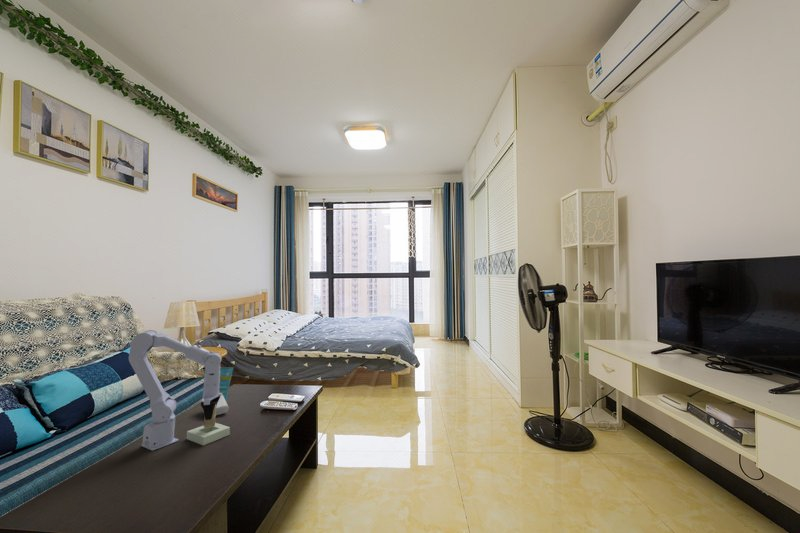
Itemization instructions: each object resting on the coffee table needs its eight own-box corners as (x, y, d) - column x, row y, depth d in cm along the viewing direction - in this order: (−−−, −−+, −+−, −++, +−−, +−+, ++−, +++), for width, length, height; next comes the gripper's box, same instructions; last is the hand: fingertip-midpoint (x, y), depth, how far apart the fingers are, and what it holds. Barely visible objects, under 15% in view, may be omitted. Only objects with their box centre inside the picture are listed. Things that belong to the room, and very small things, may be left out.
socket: (203, 445, 126) (203, 437, 126) (186, 439, 131) (187, 431, 131) (229, 434, 136) (230, 427, 136) (212, 429, 141) (213, 421, 141)
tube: (212, 407, 164) (218, 368, 167) (211, 405, 168) (217, 366, 171) (228, 406, 168) (234, 367, 171) (227, 404, 172) (232, 366, 175)
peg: (207, 428, 131) (208, 405, 132) (201, 426, 133) (202, 403, 134) (217, 425, 135) (218, 402, 135) (211, 423, 137) (212, 400, 137)
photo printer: (228, 412, 159) (221, 398, 168) (229, 404, 158) (222, 391, 167) (204, 419, 152) (198, 404, 161) (205, 411, 151) (199, 396, 160)
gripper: (218, 387, 130) (216, 423, 129) (226, 378, 143) (224, 410, 142) (198, 388, 127) (196, 425, 126) (207, 379, 141) (205, 411, 140)
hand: (209, 417), depth 134 cm, fingers closed on peg, 4 cm apart
